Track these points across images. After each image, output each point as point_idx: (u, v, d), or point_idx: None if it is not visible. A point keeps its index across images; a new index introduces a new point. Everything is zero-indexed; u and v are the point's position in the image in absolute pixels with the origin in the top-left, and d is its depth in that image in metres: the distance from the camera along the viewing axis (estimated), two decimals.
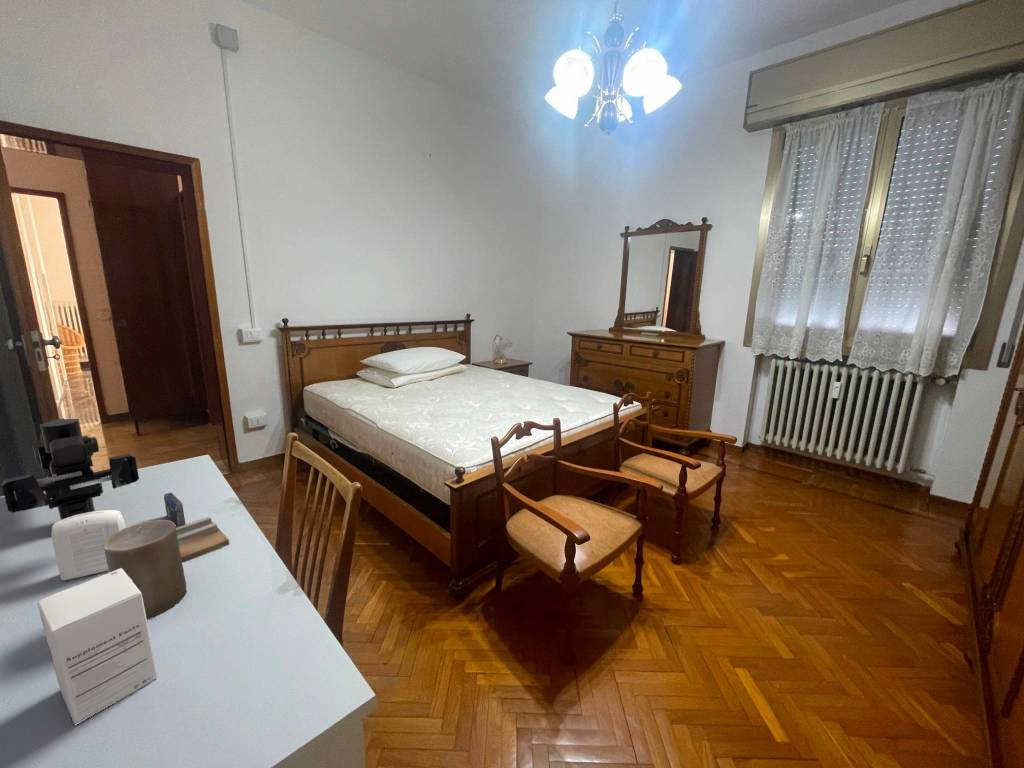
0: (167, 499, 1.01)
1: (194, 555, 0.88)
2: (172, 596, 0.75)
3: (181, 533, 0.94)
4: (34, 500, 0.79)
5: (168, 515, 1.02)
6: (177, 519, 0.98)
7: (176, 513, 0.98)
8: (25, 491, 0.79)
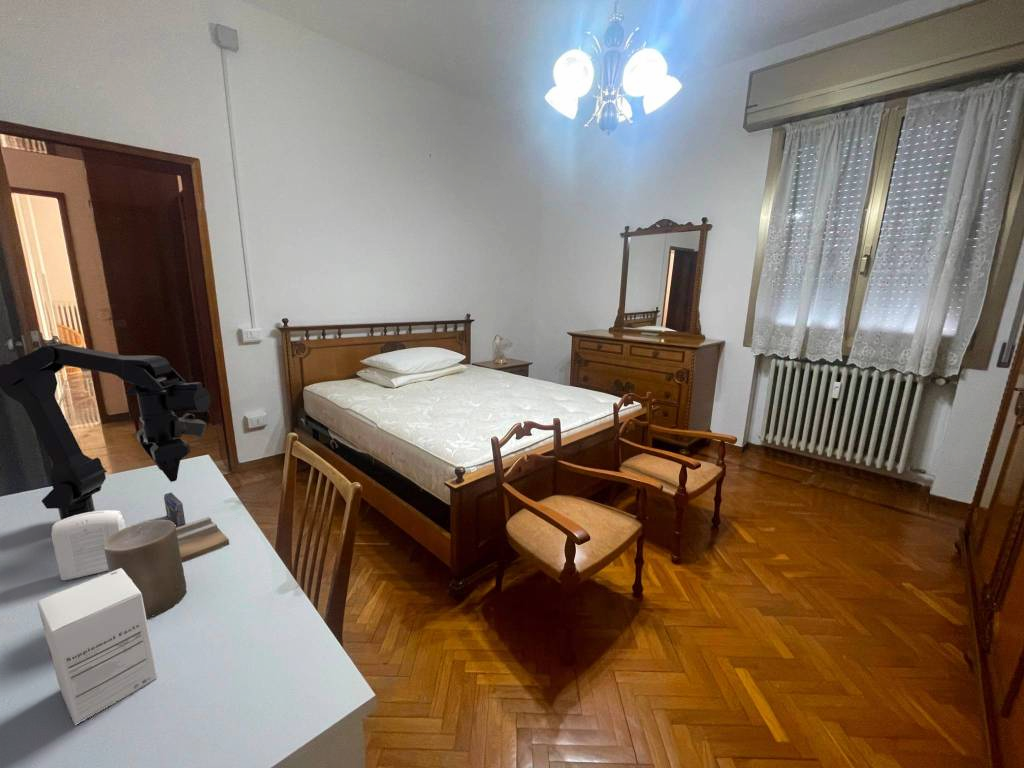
0: (167, 499, 1.01)
1: (194, 555, 0.88)
2: (172, 596, 0.75)
3: (181, 533, 0.94)
4: (165, 461, 0.93)
5: (168, 515, 1.02)
6: (177, 519, 0.98)
7: (176, 513, 0.98)
8: (176, 456, 0.94)
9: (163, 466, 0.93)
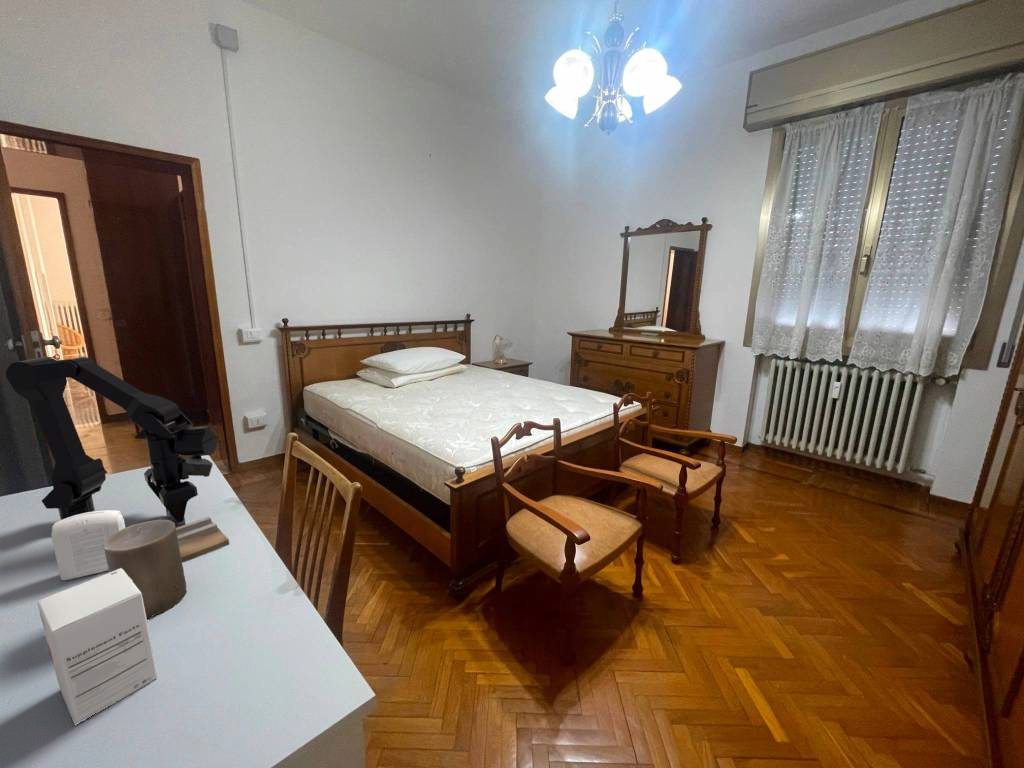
0: None
1: (194, 555, 0.88)
2: (172, 596, 0.75)
3: (181, 533, 0.94)
4: (173, 504, 0.96)
5: (168, 515, 1.02)
6: None
7: None
8: None
9: (171, 508, 0.95)
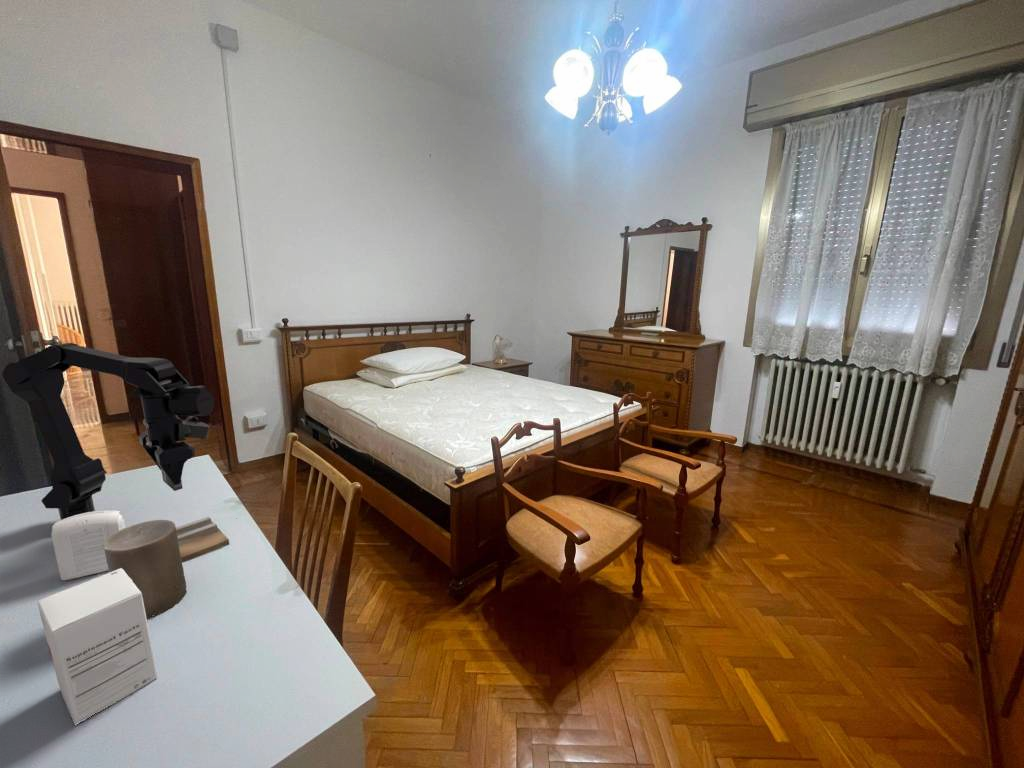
0: None
1: (194, 555, 0.88)
2: (172, 596, 0.75)
3: (181, 533, 0.94)
4: (169, 464, 0.92)
5: (164, 479, 0.99)
6: None
7: None
8: None
9: (167, 469, 0.92)
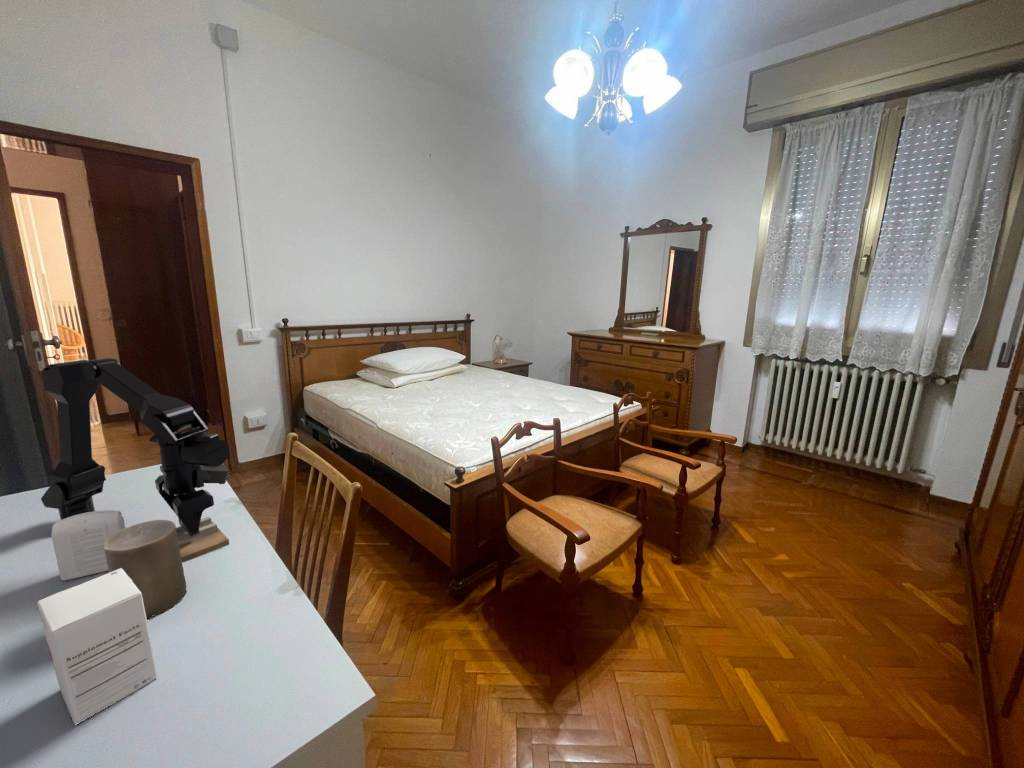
0: None
1: (194, 555, 0.88)
2: (172, 596, 0.75)
3: (181, 533, 0.94)
4: (187, 514, 0.88)
5: (180, 522, 0.94)
6: None
7: None
8: None
9: (185, 519, 0.88)
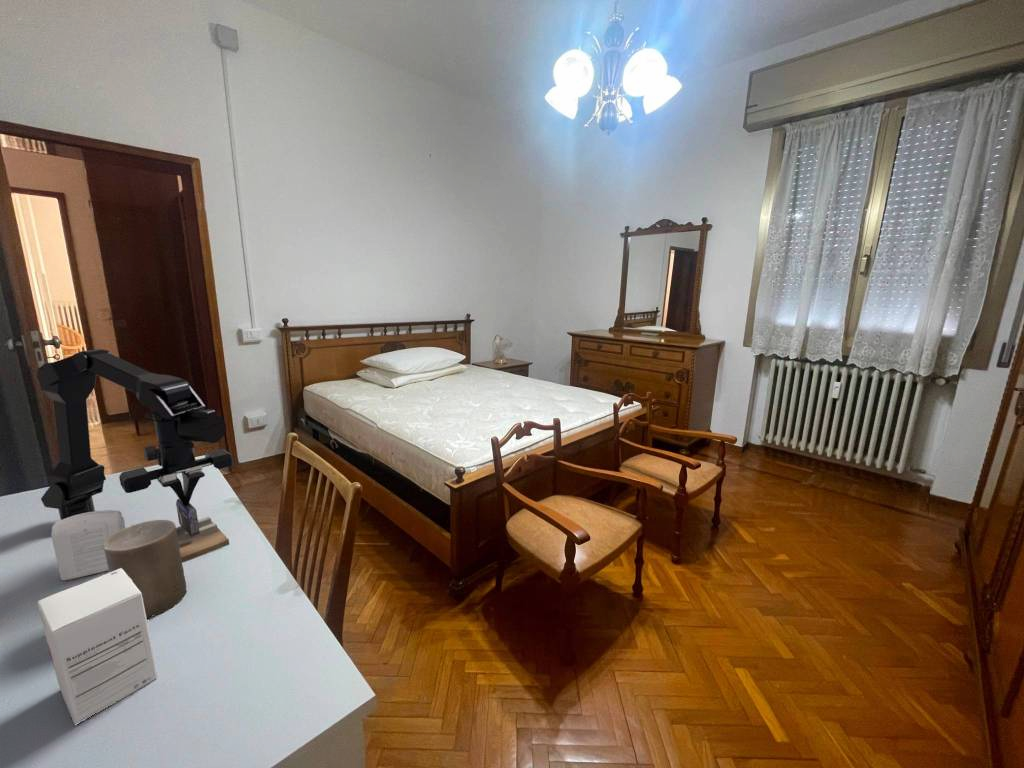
0: (180, 505, 0.93)
1: (194, 555, 0.88)
2: (172, 596, 0.75)
3: (181, 533, 0.94)
4: None
5: (180, 522, 0.94)
6: (191, 527, 0.90)
7: (190, 520, 0.90)
8: None
9: None
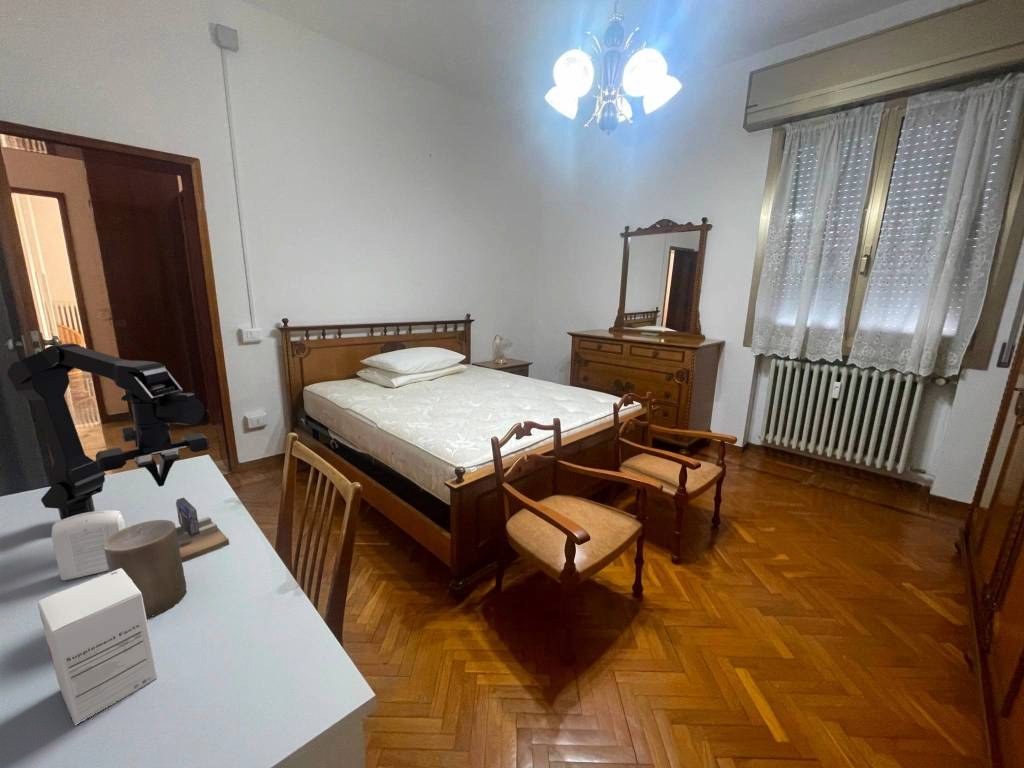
0: (180, 505, 0.93)
1: (194, 555, 0.88)
2: (172, 596, 0.75)
3: (181, 533, 0.94)
4: None
5: (180, 522, 0.94)
6: (191, 527, 0.90)
7: (190, 520, 0.90)
8: None
9: None
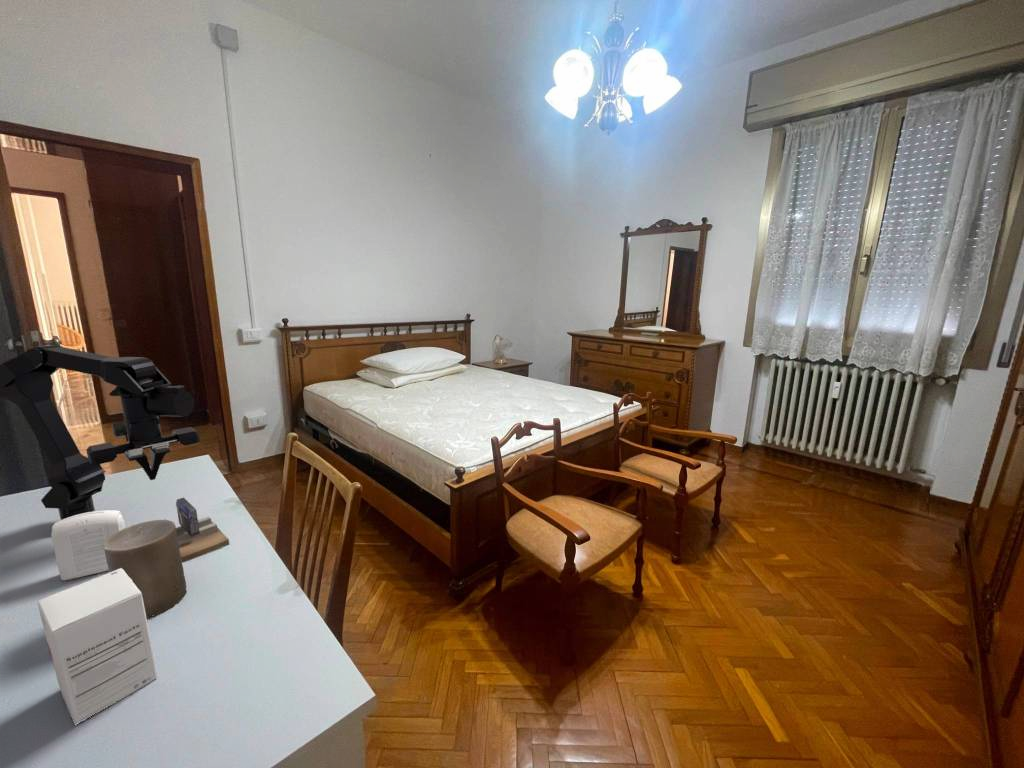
0: (180, 505, 0.93)
1: (194, 555, 0.88)
2: (172, 596, 0.75)
3: (181, 533, 0.94)
4: None
5: (180, 522, 0.94)
6: (191, 527, 0.90)
7: (190, 520, 0.90)
8: None
9: None
